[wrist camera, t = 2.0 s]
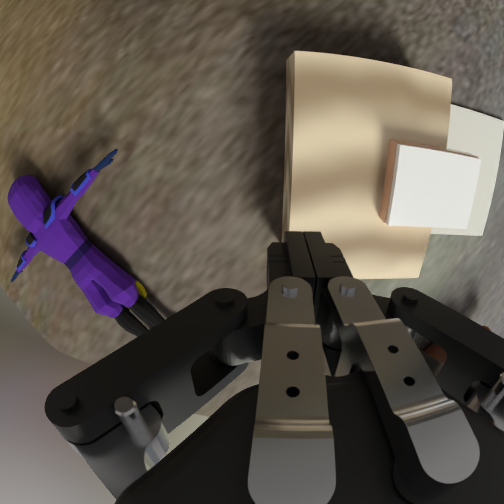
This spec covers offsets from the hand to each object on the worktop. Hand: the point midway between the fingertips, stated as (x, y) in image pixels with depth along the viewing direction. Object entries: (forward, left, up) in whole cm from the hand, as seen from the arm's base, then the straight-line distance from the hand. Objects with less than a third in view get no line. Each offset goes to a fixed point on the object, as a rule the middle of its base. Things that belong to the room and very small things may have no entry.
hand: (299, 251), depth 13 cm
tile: (0, +13, -13) cm, 19 cm away
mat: (0, +23, -20) cm, 30 cm away
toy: (+12, -22, -20) cm, 32 cm away
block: (0, +8, -20) cm, 21 cm away
